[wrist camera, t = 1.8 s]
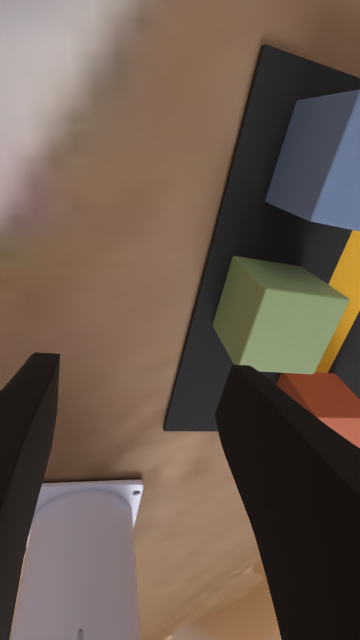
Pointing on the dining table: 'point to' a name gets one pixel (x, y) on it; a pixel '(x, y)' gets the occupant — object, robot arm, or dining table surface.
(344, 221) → the blue block
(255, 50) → the dining table surface
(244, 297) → the sage block
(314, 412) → the terracotta block
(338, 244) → the line mat
